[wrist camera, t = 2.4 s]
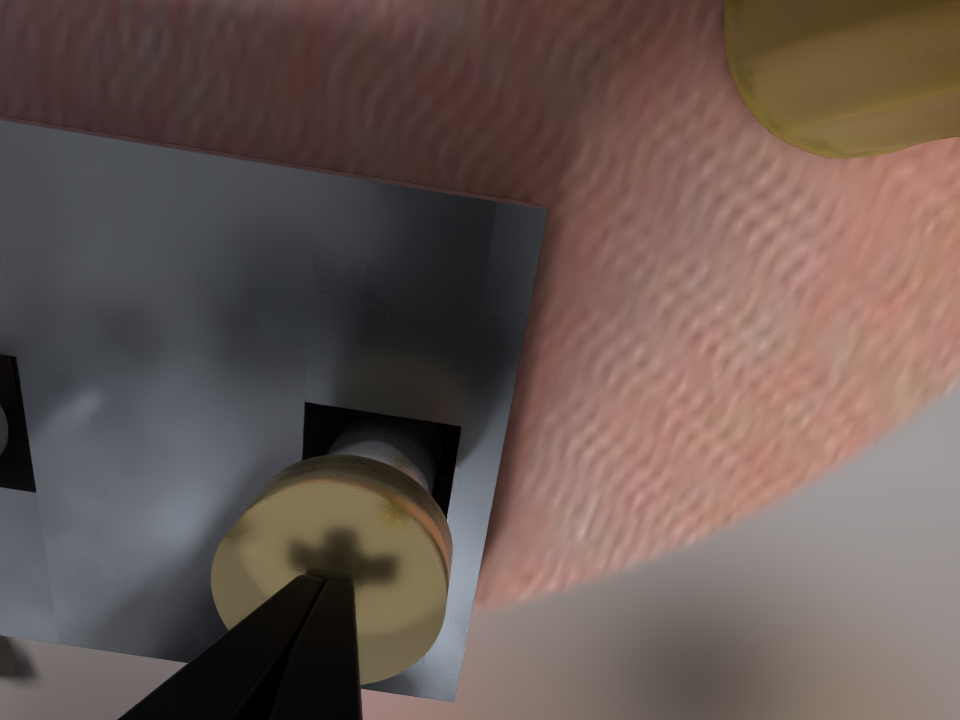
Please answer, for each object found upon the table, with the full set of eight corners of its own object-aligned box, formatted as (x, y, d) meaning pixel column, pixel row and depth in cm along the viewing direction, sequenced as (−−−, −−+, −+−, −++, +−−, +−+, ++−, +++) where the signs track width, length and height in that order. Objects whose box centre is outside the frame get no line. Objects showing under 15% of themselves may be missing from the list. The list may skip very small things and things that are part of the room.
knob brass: (455, 517, 13) (430, 700, 8) (315, 496, 13) (212, 668, 8) (476, 388, 12) (461, 517, 7) (322, 363, 12) (208, 478, 7)
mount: (463, 603, 16) (454, 702, 13) (10, 535, 16) (-108, 618, 13) (536, 203, 12) (548, 209, 9) (-66, 104, 12) (-260, 78, 9)
